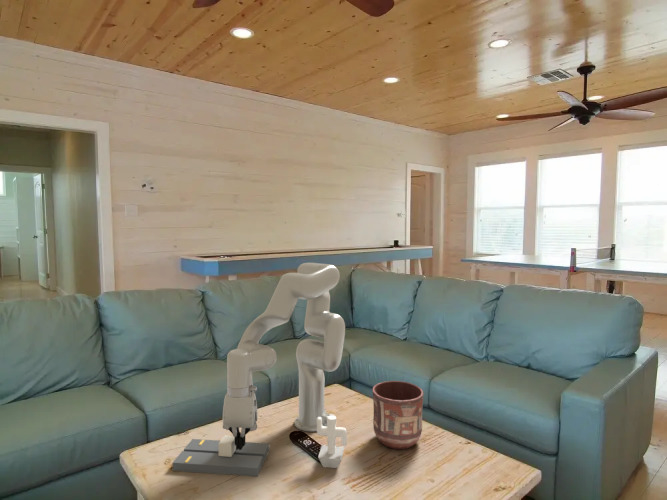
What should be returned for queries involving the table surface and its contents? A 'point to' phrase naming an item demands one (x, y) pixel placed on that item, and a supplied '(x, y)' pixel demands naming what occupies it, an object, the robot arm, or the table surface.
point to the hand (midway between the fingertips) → (240, 447)
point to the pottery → (397, 413)
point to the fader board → (221, 458)
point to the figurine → (331, 442)
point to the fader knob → (227, 446)
